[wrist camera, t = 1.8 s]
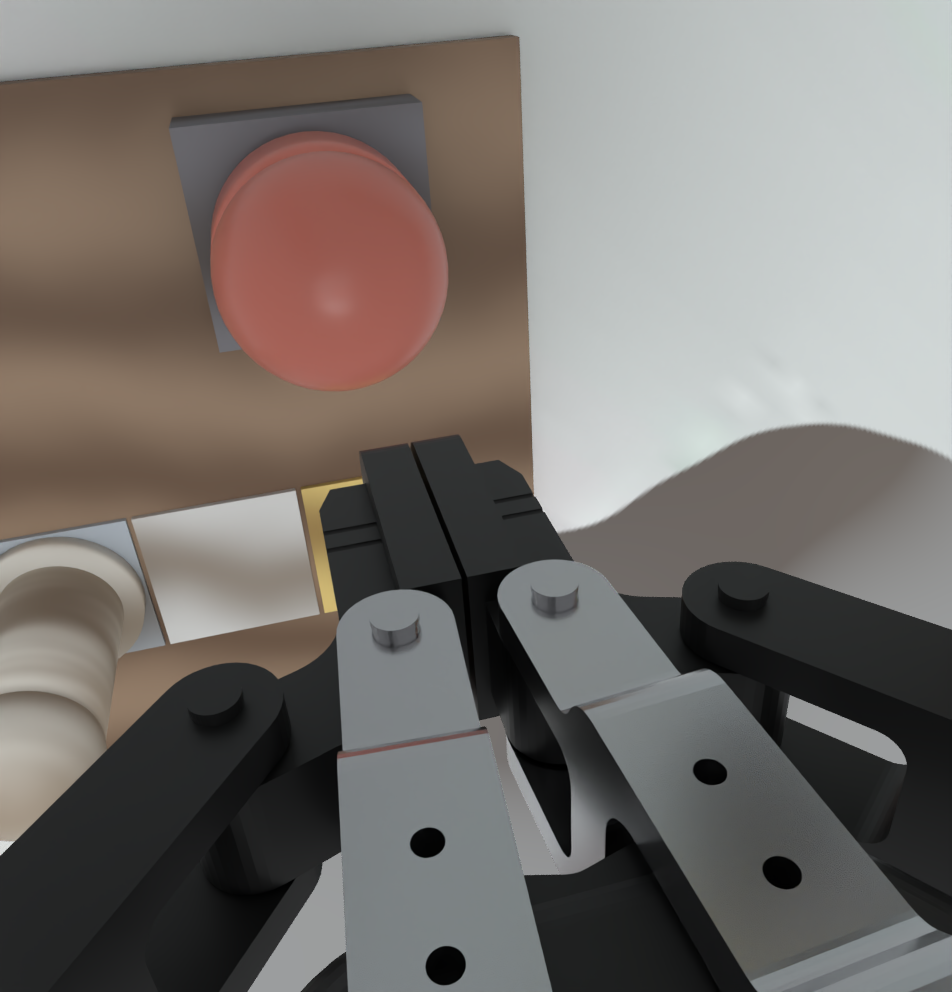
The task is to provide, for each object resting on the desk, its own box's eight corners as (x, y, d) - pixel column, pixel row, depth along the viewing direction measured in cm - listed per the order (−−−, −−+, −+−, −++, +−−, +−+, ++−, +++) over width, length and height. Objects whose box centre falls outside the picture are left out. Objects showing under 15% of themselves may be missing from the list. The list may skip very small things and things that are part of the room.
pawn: (-46, 553, 31) (-145, 774, 22) (123, 523, 32) (88, 725, 23) (8, 674, 34) (-61, 909, 25) (162, 644, 35) (143, 860, 26)
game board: (-282, 107, 24) (-336, 123, 21) (511, 35, 28) (539, 42, 25) (32, 774, 37) (20, 828, 35) (534, 663, 41) (553, 706, 39)
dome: (188, 143, 23) (180, 193, 18) (413, 119, 24) (464, 161, 19) (235, 356, 26) (239, 449, 22) (432, 327, 28) (480, 408, 23)
